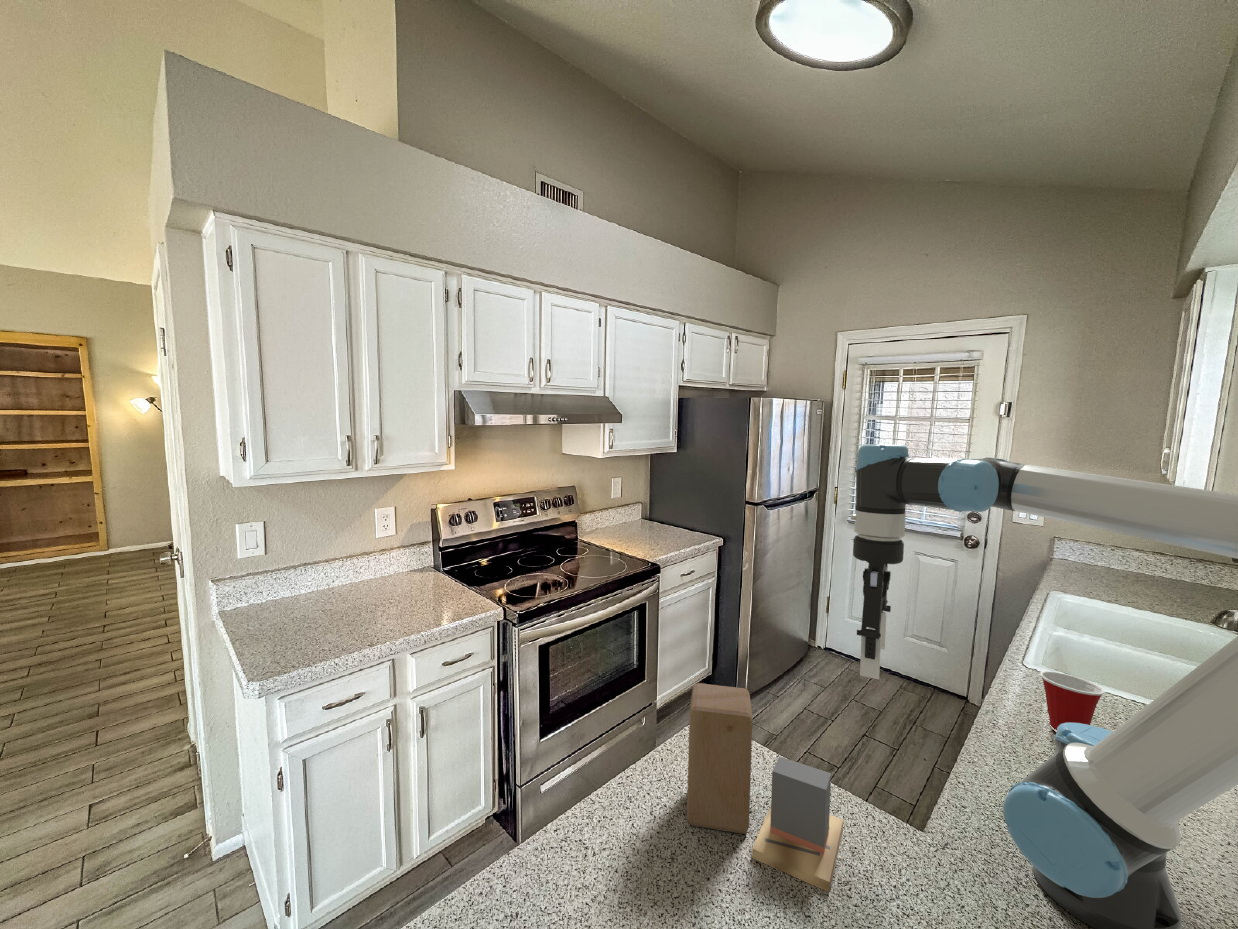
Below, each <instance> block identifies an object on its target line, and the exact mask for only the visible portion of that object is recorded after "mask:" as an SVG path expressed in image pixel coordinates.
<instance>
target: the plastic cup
mask: <svg viewBox="0 0 1238 929" xmlns="http://www.w3.org/2000/svg"><path fill="white" fill-rule="evenodd" d="M1039 673H1040V678H1041V679H1042V681H1043V686H1044V692H1045V699H1046V707H1047V714H1048V718H1049V725H1051V726H1052V727H1053V728H1054V729H1056V730H1057V728H1058V726H1059V725H1060V724H1063V723H1081V724H1087V725H1091V723H1092V721H1093V720H1092V719H1093V717H1094V714H1095V710H1096V708H1097V704H1098V702H1099V701H1100V699H1101V697H1102V696H1103V695H1105V693H1106V691H1105V689H1104V688H1102V686H1100V685H1099V684H1098V685H1097V684H1095V683H1094V682H1091V681H1089V680H1086V679H1084V678H1081V677H1078V676H1074V675H1070V674H1067V673H1062V672H1056V671H1041V672H1039ZM1051 726H1050V727H1051Z"/></svg>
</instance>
